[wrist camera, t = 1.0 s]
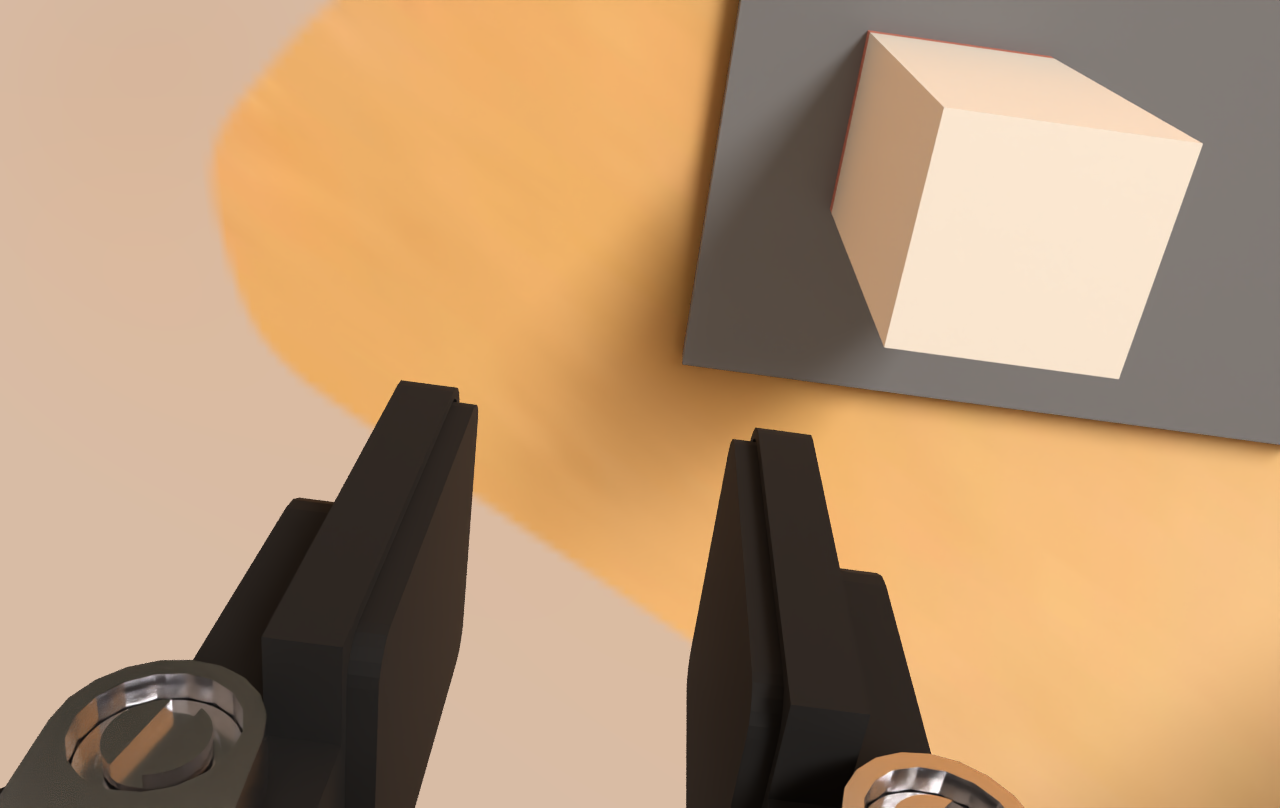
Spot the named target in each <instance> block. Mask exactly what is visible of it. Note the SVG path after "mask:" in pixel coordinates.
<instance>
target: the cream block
mask: <svg viewBox="0 0 1280 808" xmlns="http://www.w3.org/2000/svg"><path fill="white" fill-rule="evenodd" d="M1202 145H1203V143H1201V142H1199V141H1197V140H1196V139H1194V138H1192V137H1190V136H1189V135H1187V134H1185V133H1184V132H1182V131H1180V130H1178V129H1177V128H1175V127H1173V126H1171V125H1170V124H1168V123H1166V122H1164V121H1163V120H1161V119H1159V118H1157V117H1156V116H1154V115H1152V114H1150V113H1149V112H1147V111H1145V110H1143V109H1142V108H1140V107H1138V106H1136V105H1135V104H1133V103H1131V102H1129V101H1128V100H1126V99H1124V98H1122V97H1121V96H1119V95H1117V94H1115V93H1114V92H1112V91H1110V90H1108V89H1107V88H1105V87H1103V86H1102V85H1100V84H1098V83H1096V82H1095V81H1093V80H1091V79H1089V78H1088V77H1086V76H1084V75H1082V74H1081V73H1079V72H1077V71H1075V70H1074V69H1072V68H1070V67H1068V66H1067V65H1065V64H1063V63H1061V62H1060V61H1058V60H1056V59H1054V58H1053V57H1051V56H1046V55H1039V54H1032V53H1025V52H1018V51H1011V50H1003V49H996V48H989V47H982V46H975V45H968V44H961V43H954V42H947V41H940V40H933V39H926V38H919V37H912V36H905V35H898V34H891V33H884V32H877V31H870V30H868V32H867V37H866V41H865V46H864V51H863V56H862V60H861V65H860V70H859V74H858V79H857V84H856V89H855V93H854V98H853V103H852V107H851V112H850V117H849V121H848V126H847V131H846V136H845V140H844V145H843V150H842V154H841V159H840V164H839V169H838V173H837V178H836V183H835V187H834V192H833V197H832V202H831V206H830V211H831V213H832V216H833V218H834V221H835V223H836V226H837V229H838V231H839V234H840V236H841V239H842V241H843V244H844V246H845V249H846V251H847V254H848V257H849V259H850V262H851V264H852V267H853V269H854V272H855V274H856V277H857V279H858V282H859V285H860V287H861V290H862V292H863V295H864V297H865V300H866V302H867V305H868V308H869V310H870V313H871V315H872V318H873V320H874V323H875V325H876V328H877V330H878V333H879V336H880V338H881V341H882V343H883V346H884V347H885V348H892V349H899V350H907V351H914V352H921V353H929V354H936V355H944V356H951V357H958V358H966V359H973V360H981V361H988V362H995V363H1003V364H1010V365H1017V366H1025V367H1032V368H1040V369H1047V370H1054V371H1062V372H1069V373H1077V374H1084V375H1091V376H1099V377H1106V378H1113V379H1119V377H1120V374H1121V372H1122V369H1123V366H1124V363H1125V361H1126V358H1127V355H1128V352H1129V349H1130V347H1131V344H1132V341H1133V338H1134V335H1135V333H1136V330H1137V327H1138V324H1139V321H1140V319H1141V316H1142V313H1143V310H1144V307H1145V305H1146V302H1147V299H1148V296H1149V293H1150V291H1151V288H1152V285H1153V282H1154V279H1155V277H1156V274H1157V271H1158V268H1159V265H1160V263H1161V260H1162V257H1163V254H1164V251H1165V249H1166V246H1167V243H1168V240H1169V238H1170V235H1171V232H1172V229H1173V226H1174V224H1175V221H1176V218H1177V215H1178V212H1179V210H1180V207H1181V204H1182V201H1183V198H1184V196H1185V193H1186V190H1187V187H1188V184H1189V182H1190V179H1191V176H1192V173H1193V170H1194V168H1195V165H1196V162H1197V159H1198V156H1199V154H1200V151H1201V148H1202Z"/></svg>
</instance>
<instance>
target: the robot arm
mask: <svg viewBox="0 0 1280 808" xmlns="http://www.w3.org/2000/svg"><path fill="white" fill-rule="evenodd" d="M477 423H478V407H477V405H473V404H466V403H459V391H458V388H454V387H447V386H439V385H432V384H424V383H417V382H409V381H402V380H401V381H400V383H399V384H398V386H397V387H396V389H395V391H394V393H393V395H392V397H391V398H390V400H389V402H388V404H387V406H386V408H385V410H384V411H383V413H382V415H381V417H380V419H379V421H378V422H377V424H376V426H375V428H374V430H373V432H372V434H371V435H370V437H369V439H368V441H367V443H366V445H365V447H364V448H363V450H362V452H361V454H360V456H359V458H358V459H357V461H356V463H355V465H354V467H353V469H352V471H351V472H350V474H349V476H348V478H347V480H346V482H345V484H344V485H343V487H342V489H341V491H340V493H339V495H338V497H337V498H336V500H335V502H328V501H320V500H313V499H306V498H305V499H304V498H296V499H293V500H292V501H291V502H290V504H289V505H288V506H287V507H286V509H285V510H284V512H283V514H282V515H281V517H280V519H279V521H278V522H277V523H276V525H275V527H274V528H273V530H272V531H271V533H270V535H269V537H268V538H267V540H266V542H265V543H264V545H263V546H262V548H261V550H260V551H259V553H258V554H257V556H256V558H255V559H254V561H253V563H252V564H251V566H250V568H249V569H248V571H247V573H246V574H245V576H244V577H243V579H242V581H241V583H240V584H239V586H238V587H237V589H236V591H235V592H234V594H233V595H232V597H231V599H230V600H229V602H228V604H227V605H226V607H225V609H224V610H223V612H222V613H221V615H220V617H219V618H218V620H217V622H216V623H215V625H214V627H213V628H212V630H211V631H210V633H209V635H208V636H207V638H206V640H205V641H204V643H203V645H202V646H201V648H200V649H199V651H198V653H197V654H196V656H195V658H194V659H193V660H160V661H155V662H150V663H145V664H140V665H135V666H130V667H126V668H124V669H121V670H119V671H116V672H114V673H111V674H109V675H106V676H104V677H101V678H99V679H97V680H95V681H93V682H92V683H90V684H89V685H87V686H86V687H84V688H82V689H81V690H79V691H78V692H77V693H75V694H74V695H72V696H70V697H69V698H68V699H67V700H66V701H65V702H64V704H63V705H62V706H61V707H60V708H59V709H58V710H57V711H56V712H55V714H54V715H53V716H52V717H51V718H50V719H49V720H48V722H47V724H46V725H45V726H44V728H43V730H42V731H41V733H40V734H39V736H38V737H37V739H36V740H35V742H34V743H33V745H32V746H31V748H30V749H29V751H28V753H27V754H26V756H25V757H24V759H23V760H22V762H21V763H20V765H19V766H18V768H17V769H16V771H15V773H14V774H13V776H12V777H11V779H10V780H9V782H8V783H7V785H6V786H5V787H3V788H1V789H0V808H415V805H416V801H417V798H418V795H419V791H420V788H421V784H422V781H423V777H424V774H425V770H426V767H427V763H428V759H429V756H430V753H431V749H432V746H433V742H434V739H435V735H436V732H437V728H438V725H439V721H440V718H441V714H442V710H443V707H444V704H445V700H446V697H447V693H448V689H449V686H450V683H451V679H452V676H453V672H454V669H455V665H456V661H457V657H458V653H459V648H460V642H461V635H462V628H463V616H464V602H465V589H466V575H467V574H466V573H467V561H468V547H469V534H470V520H471V506H472V492H473V478H474V465H475V451H476V437H477ZM686 747H687V748H686V749H687V750H686V751H687V752H686V754H687V755H686V763H687V764H686V766H687V767H686V770H687V771H686V775H687V777H686V789H687V790H686V808H1024V807H1023V805H1022V804H1021V803H1020V802H1019V801H1018V800H1017V798H1016V797H1015V796H1014V795H1012V794H1011V793H1010V792H1009V791H1007V790H1006V789H1005V788H1003V787H1002V786H1001V785H999V784H998V783H997V782H995V781H994V780H993V779H991V778H990V777H989V776H987V775H985V774H983V773H981V772H979V771H977V770H975V769H973V768H971V767H969V766H967V765H965V764H963V763H961V762H958V761H954V760H951V759H947V758H943V757H940V756H936V755H932V754H931V752H930V748H929V744H928V740H927V737H926V733H925V729H924V726H923V722H922V718H921V714H920V711H919V707H918V703H917V699H916V696H915V692H914V688H913V685H912V681H911V677H910V673H909V670H908V666H907V662H906V658H905V655H904V651H903V647H902V644H901V640H900V636H899V632H898V629H897V625H896V621H895V617H894V614H893V610H892V606H891V603H890V599H889V595H888V591H887V588H886V585H885V582H884V580H883V578H882V576H881V575H879V574H877V573H871V572H864V571H856V570H848V569H841V568H840V567H839V562H838V557H837V553H836V548H835V543H834V538H833V534H832V529H831V524H830V519H829V515H828V510H827V505H826V500H825V496H824V491H823V486H822V481H821V477H820V472H819V467H818V462H817V458H816V453H815V448H814V443H813V439H812V436H811V435H807V434H799V433H792V432H784V431H777V430H769V429H762V428H755V429H754V431H753V434H752V437H751V441H744V440H736V439H732V441H731V444H730V448H729V452H728V457H727V463H726V468H725V473H724V478H723V484H722V489H721V494H720V500H719V505H718V510H717V515H716V521H715V526H714V531H713V537H712V542H711V547H710V552H709V558H708V563H707V568H706V573H705V579H704V584H703V589H702V595H701V600H700V605H699V610H698V616H697V621H696V626H695V632H694V637H693V642H692V647H691V653H690V659H689V667H688V676H687V744H686Z"/></svg>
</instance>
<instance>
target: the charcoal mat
mask: <svg viewBox="0 0 1280 808" xmlns="http://www.w3.org/2000/svg"><path fill="white" fill-rule="evenodd" d="M868 30H870V31H877V32H884V33H891V34H898V35H905V36H912V37H919V38H926V39H933V40H940V41H947V42H954V43H961V44H968V45H975V46H982V47H989V48H996V49H1003V50H1011V51H1018V52H1025V53H1032V54H1039V55H1046V56H1051V57H1053V58H1054V59H1056V60H1058V61H1060V62H1061V63H1063V64H1065V65H1067V66H1068V67H1070V68H1072V69H1074V70H1075V71H1077V72H1079V73H1081V74H1082V75H1084V76H1086V77H1088V78H1089V79H1091V80H1093V81H1095V82H1096V83H1098V84H1100V85H1102V86H1103V87H1105V88H1107V89H1108V90H1110V91H1112V92H1114V93H1115V94H1117V95H1119V96H1121V97H1122V98H1124V99H1126V100H1128V101H1129V102H1131V103H1133V104H1135V105H1136V106H1138V107H1140V108H1142V109H1143V110H1145V111H1147V112H1149V113H1150V114H1152V115H1154V116H1156V117H1157V118H1159V119H1161V120H1163V121H1164V122H1166V123H1168V124H1170V125H1171V126H1173V127H1175V128H1177V129H1178V130H1180V131H1182V132H1184V133H1185V134H1187V135H1189V136H1190V137H1192V138H1194V139H1196V140H1197V141H1199V142H1201V143H1203V145H1202V148H1201V151H1200V154H1199V156H1198V159H1197V162H1196V165H1195V168H1194V170H1193V173H1192V176H1191V179H1190V182H1189V184H1188V187H1187V190H1186V193H1185V196H1184V198H1183V201H1182V204H1181V207H1180V210H1179V212H1178V215H1177V218H1176V221H1175V224H1174V226H1173V229H1172V232H1171V235H1170V238H1169V240H1168V243H1167V246H1166V249H1165V251H1164V254H1163V257H1162V260H1161V263H1160V265H1159V268H1158V271H1157V274H1156V277H1155V279H1154V282H1153V285H1152V288H1151V291H1150V293H1149V296H1148V299H1147V302H1146V305H1145V307H1144V310H1143V313H1142V316H1141V319H1140V321H1139V324H1138V327H1137V330H1136V333H1135V335H1134V338H1133V341H1132V344H1131V347H1130V349H1129V352H1128V355H1127V358H1126V361H1125V363H1124V366H1123V369H1122V372H1121V374H1120V377H1119V379H1113V378H1106V377H1099V376H1091V375H1084V374H1077V373H1069V372H1062V371H1054V370H1047V369H1040V368H1032V367H1025V366H1017V365H1010V364H1003V363H995V362H988V361H981V360H973V359H966V358H958V357H951V356H944V355H936V354H929V353H921V352H914V351H907V350H899V349H892V348H885V347H884V346H883V343H882V341H881V338H880V336H879V333H878V330H877V328H876V325H875V323H874V320H873V318H872V315H871V313H870V310H869V308H868V305H867V302H866V300H865V297H864V295H863V292H862V290H861V287H860V285H859V282H858V279H857V277H856V274H855V272H854V269H853V267H852V264H851V262H850V259H849V257H848V254H847V251H846V249H845V246H844V244H843V241H842V239H841V236H840V234H839V231H838V229H837V226H836V223H835V221H834V218H833V216H832V213H831V211H830V206H831V202H832V197H833V192H834V187H835V183H836V178H837V173H838V169H839V164H840V159H841V154H842V150H843V145H844V140H845V136H846V131H847V126H848V121H849V117H850V112H851V107H852V103H853V98H854V93H855V89H856V84H857V79H858V74H859V70H860V65H861V60H862V56H863V51H864V46H865V41H866V37H867V32H868ZM682 364H683V365H690V366H698V367H705V368H713V369H720V370H728V371H735V372H743V373H750V374H757V375H765V376H772V377H780V378H787V379H795V380H802V381H809V382H817V383H824V384H832V385H839V386H847V387H854V388H862V389H869V390H876V391H884V392H891V393H899V394H906V395H914V396H921V397H928V398H936V399H943V400H951V401H958V402H966V403H973V404H980V405H988V406H995V407H1003V408H1010V409H1018V410H1025V411H1033V412H1040V413H1047V414H1055V415H1062V416H1070V417H1077V418H1085V419H1092V420H1099V421H1107V422H1114V423H1122V424H1129V425H1137V426H1144V427H1151V428H1159V429H1166V430H1174V431H1181V432H1189V433H1196V434H1204V435H1211V436H1218V437H1226V438H1233V439H1241V440H1248V441H1256V442H1263V443H1270V444H1278V445H1280V0H739V6H738V12H737V18H736V25H735V31H734V37H733V43H732V49H731V56H730V62H729V68H728V74H727V81H726V87H725V93H724V99H723V105H722V112H721V118H720V124H719V130H718V137H717V143H716V149H715V155H714V161H713V168H712V174H711V180H710V186H709V192H708V199H707V205H706V211H705V217H704V224H703V230H702V236H701V242H700V248H699V255H698V261H697V267H696V273H695V280H694V286H693V292H692V298H691V304H690V311H689V317H688V323H687V329H686V335H685V342H684V348H683V356H682Z"/></svg>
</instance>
